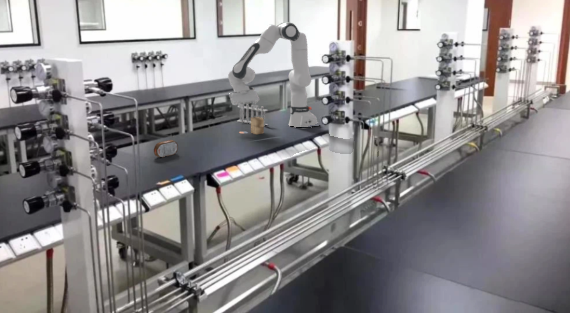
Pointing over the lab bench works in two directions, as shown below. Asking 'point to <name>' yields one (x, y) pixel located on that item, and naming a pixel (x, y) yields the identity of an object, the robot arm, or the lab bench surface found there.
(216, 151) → the lab bench surface
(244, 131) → the plate
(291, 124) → the robot arm
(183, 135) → the lab bench surface
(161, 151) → the tin
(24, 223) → the lab bench surface
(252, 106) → the test tube rack
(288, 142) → the lab bench surface
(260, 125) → the oak block
